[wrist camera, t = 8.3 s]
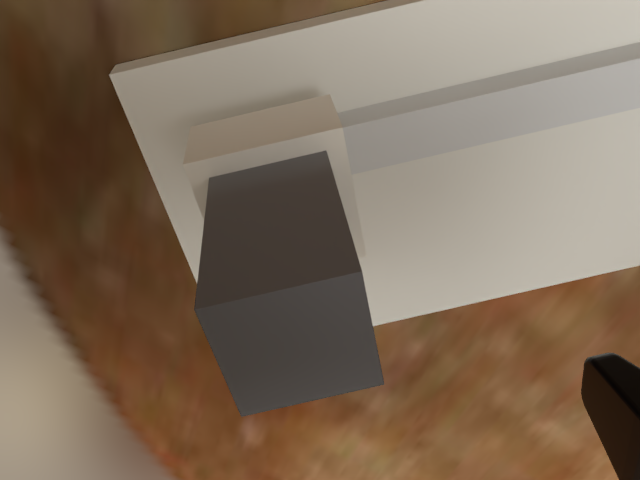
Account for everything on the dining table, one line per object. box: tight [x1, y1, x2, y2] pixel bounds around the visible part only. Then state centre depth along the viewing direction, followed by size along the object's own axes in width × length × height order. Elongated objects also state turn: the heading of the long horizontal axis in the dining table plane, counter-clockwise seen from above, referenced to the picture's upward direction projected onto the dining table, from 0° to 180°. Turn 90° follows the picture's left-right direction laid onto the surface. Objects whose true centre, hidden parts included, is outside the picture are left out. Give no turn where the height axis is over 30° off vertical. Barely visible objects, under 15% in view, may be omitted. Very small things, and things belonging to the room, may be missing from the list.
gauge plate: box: [109, 0, 640, 326], centre depth 18 cm, size 12×24×5 cm, turn 101°
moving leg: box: [183, 94, 384, 417], centre depth 15 cm, size 7×4×8 cm, turn 11°
